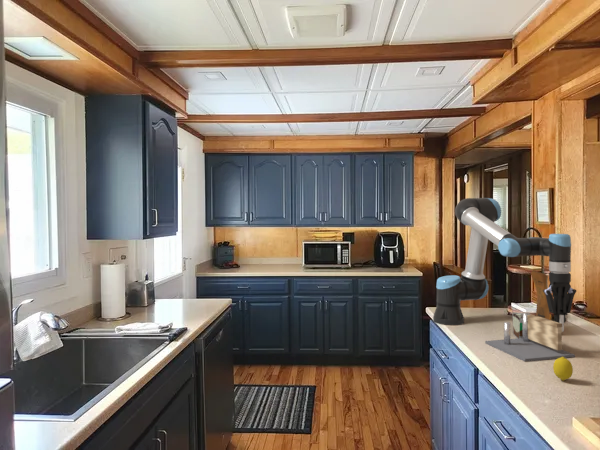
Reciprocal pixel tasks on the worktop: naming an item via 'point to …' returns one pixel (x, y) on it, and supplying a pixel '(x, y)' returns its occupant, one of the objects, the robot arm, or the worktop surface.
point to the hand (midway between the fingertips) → (559, 330)
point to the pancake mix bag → (541, 294)
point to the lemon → (563, 368)
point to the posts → (525, 330)
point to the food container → (518, 324)
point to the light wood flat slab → (545, 331)
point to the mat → (529, 350)
